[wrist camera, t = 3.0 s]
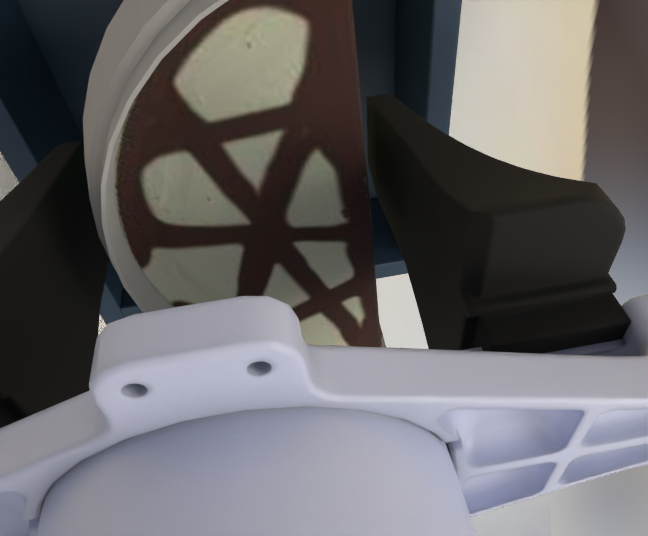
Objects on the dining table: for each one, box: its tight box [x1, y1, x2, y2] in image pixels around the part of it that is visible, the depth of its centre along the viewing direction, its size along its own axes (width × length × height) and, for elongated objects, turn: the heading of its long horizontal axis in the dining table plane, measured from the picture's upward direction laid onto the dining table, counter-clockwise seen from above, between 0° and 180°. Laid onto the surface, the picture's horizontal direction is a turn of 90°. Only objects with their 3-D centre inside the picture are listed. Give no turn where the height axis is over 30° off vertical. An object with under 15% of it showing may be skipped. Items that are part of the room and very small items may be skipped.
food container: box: [83, 0, 386, 348], centre depth 15 cm, size 12×6×10 cm, turn 7°
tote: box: [0, 0, 462, 325], centre depth 17 cm, size 13×16×4 cm
